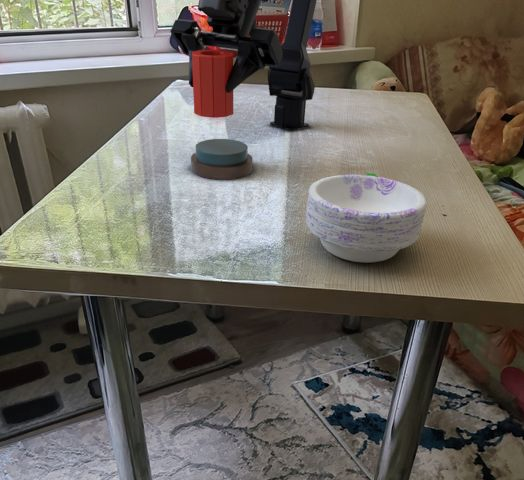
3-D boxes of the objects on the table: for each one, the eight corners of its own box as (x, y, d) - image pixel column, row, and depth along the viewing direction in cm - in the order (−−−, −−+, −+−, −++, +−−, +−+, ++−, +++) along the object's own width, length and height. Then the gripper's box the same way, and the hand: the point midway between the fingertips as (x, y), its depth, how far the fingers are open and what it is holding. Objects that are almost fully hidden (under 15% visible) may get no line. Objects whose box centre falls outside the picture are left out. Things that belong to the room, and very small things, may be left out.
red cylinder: (217, 105, 97) (216, 48, 91) (241, 114, 93) (242, 54, 87) (186, 110, 93) (183, 51, 88) (209, 119, 89) (208, 58, 84)
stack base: (226, 155, 105) (226, 133, 102) (264, 171, 98) (265, 148, 96) (179, 166, 99) (177, 144, 96) (217, 184, 92) (216, 160, 90)
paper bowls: (391, 222, 82) (401, 170, 77) (433, 271, 70) (448, 213, 66) (292, 226, 80) (296, 172, 75) (319, 278, 68) (325, 218, 63)
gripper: (172, -40, 87) (137, 47, 85) (279, -34, 80) (242, 61, 79) (200, 13, 97) (169, 92, 96) (296, 23, 91) (264, 108, 89)
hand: (208, 88), depth 90 cm, fingers closed on red cylinder, 7 cm apart
